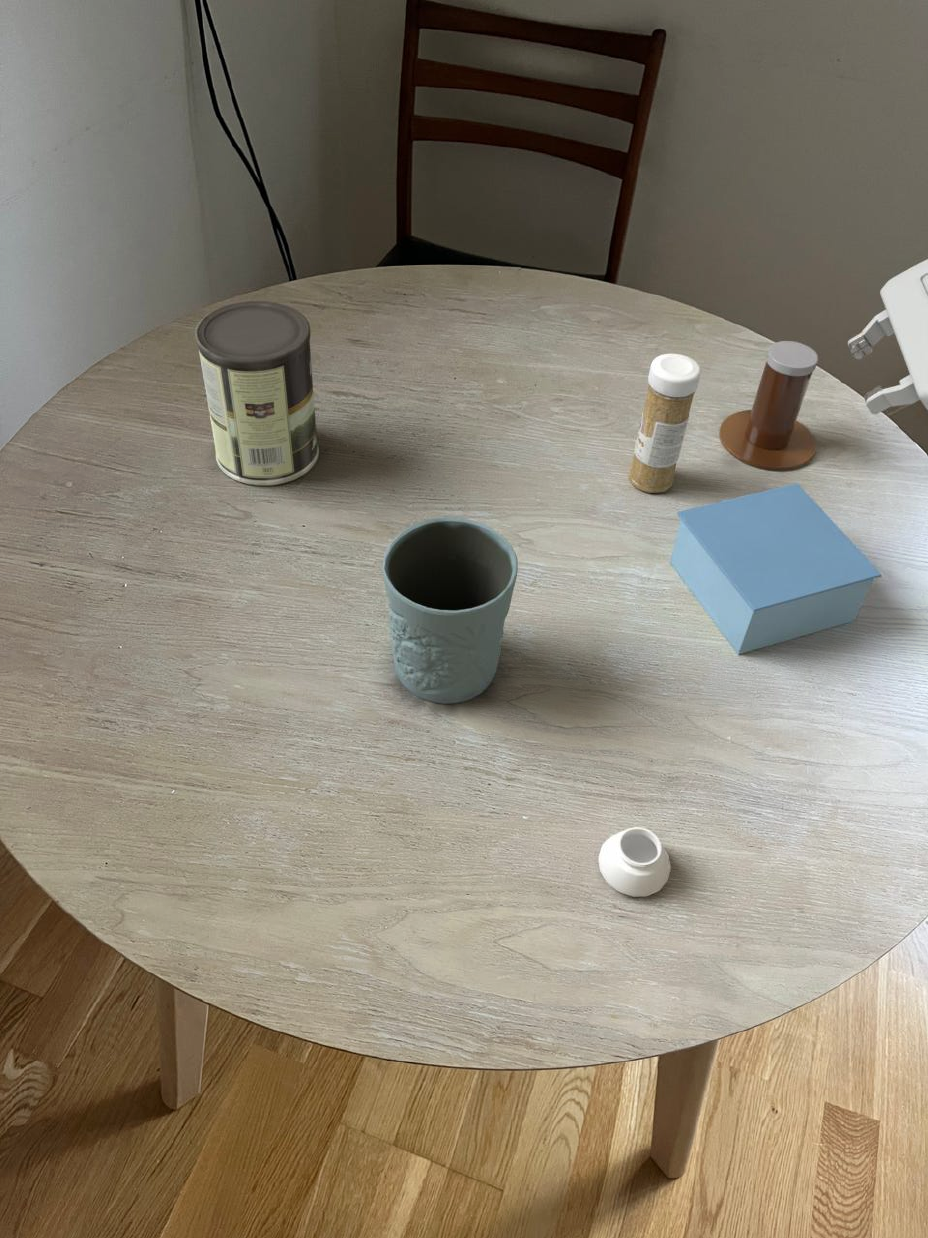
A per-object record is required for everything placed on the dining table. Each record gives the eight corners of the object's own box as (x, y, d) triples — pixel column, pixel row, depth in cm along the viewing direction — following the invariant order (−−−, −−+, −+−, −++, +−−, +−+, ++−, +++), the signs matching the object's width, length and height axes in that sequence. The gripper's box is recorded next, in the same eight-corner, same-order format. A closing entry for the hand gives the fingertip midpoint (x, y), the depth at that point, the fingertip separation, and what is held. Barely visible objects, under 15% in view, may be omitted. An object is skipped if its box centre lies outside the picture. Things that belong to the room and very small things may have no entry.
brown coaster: (780, 405, 114) (781, 402, 114) (834, 459, 108) (835, 456, 107) (701, 422, 111) (702, 419, 111) (751, 479, 105) (752, 475, 105)
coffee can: (288, 411, 109) (276, 288, 99) (337, 464, 103) (331, 340, 93) (197, 443, 105) (175, 318, 94) (243, 500, 99) (225, 373, 89)
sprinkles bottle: (626, 465, 105) (649, 349, 96) (671, 467, 106) (698, 352, 96) (629, 494, 102) (653, 378, 93) (675, 497, 102) (704, 381, 93)
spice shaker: (773, 419, 111) (800, 337, 104) (799, 445, 108) (828, 362, 101) (735, 427, 110) (759, 344, 103) (760, 454, 107) (786, 371, 100)
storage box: (779, 531, 100) (797, 482, 95) (859, 622, 92) (882, 574, 87) (664, 560, 96) (677, 511, 92) (736, 658, 88) (754, 609, 84)
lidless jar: (593, 837, 76) (603, 900, 72) (599, 815, 73) (609, 879, 70) (661, 836, 76) (674, 898, 73) (668, 814, 74) (682, 877, 70)
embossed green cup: (490, 614, 90) (500, 510, 82) (519, 705, 84) (533, 601, 75) (375, 629, 89) (372, 524, 80) (395, 723, 82) (394, 619, 73)
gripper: (958, 218, 101) (827, 301, 108) (1016, 329, 87) (861, 416, 94) (986, 264, 104) (856, 342, 111) (1047, 379, 90) (894, 460, 97)
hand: (859, 377), depth 103 cm, fingers open, 8 cm apart
